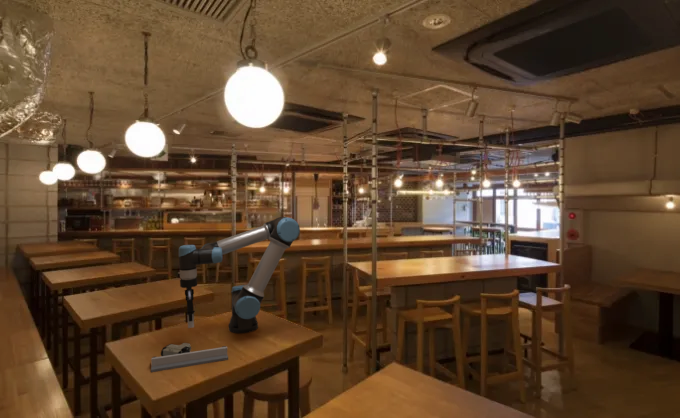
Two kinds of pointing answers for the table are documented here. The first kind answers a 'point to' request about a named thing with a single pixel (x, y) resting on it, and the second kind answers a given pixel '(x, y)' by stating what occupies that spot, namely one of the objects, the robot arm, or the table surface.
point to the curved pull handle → (188, 359)
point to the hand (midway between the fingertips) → (191, 327)
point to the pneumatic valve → (175, 349)
